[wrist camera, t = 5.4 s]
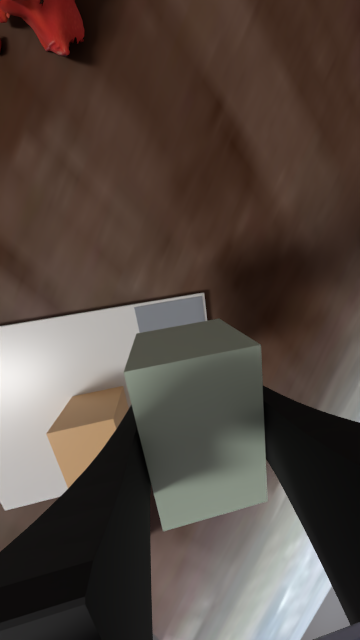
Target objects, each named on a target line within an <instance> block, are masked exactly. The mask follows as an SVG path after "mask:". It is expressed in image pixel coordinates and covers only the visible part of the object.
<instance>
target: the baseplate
mask: <svg viewBox="0 0 360 640" xmlns="http://www.w3.org/2000/svg"><path fill="white" fill-rule="evenodd" d="M203 321H207V314H206V306H205V297H204V293H196V294H190V295H184V296H178V297H172V298H166V299H160V300H154V301H148V302H142V303H136V304H130V305H124V306H118V307H112V308H106V309H100V310H94V311H88V312H82V313H76V314H70V315H64V316H58V317H51V318H45V319H39V320H33V321H27V322H21V323H15V324H9V325H3V326H0V502H1V504H2V506H3V508H4V510H9V509H13V508H17V507H21V506H25V505H29V504H33V503H37V502H41V501H45V500H48V499H52V498H56V497H60V496H61V495H62V494H63V493H64V492H65V491H66V490H67V489H68V487H67V484H66V482H65V479H64V477H63V474H62V472H61V469H60V467H59V465H58V462H57V460H56V457H55V455H54V452H53V450H52V447H51V445H50V442H49V440H48V437H47V435H46V433H47V432H48V430H49V429H50V428H51V426H52V425H53V423H54V422H55V420H56V419H57V418H58V416H59V415H60V413H61V412H62V410H63V409H64V408H65V406H66V405H67V403H68V402H69V400H70V399H71V398H72V396H77V395H82V394H86V393H91V392H96V391H101V390H106V389H110V388H115V387H120V386H123V388H124V392H125V395H126V399H127V403H128V407H130V406H131V400H130V396H129V392H128V388H127V384H126V380H125V376H124V369H125V366H126V363H127V360H128V357H129V354H130V351H131V348H132V345H133V342H134V339H135V336H136V333H142V332H147V331H153V330H159V329H164V328H170V327H175V326H181V325H186V324H192V323H197V322H203Z"/></svg>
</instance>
